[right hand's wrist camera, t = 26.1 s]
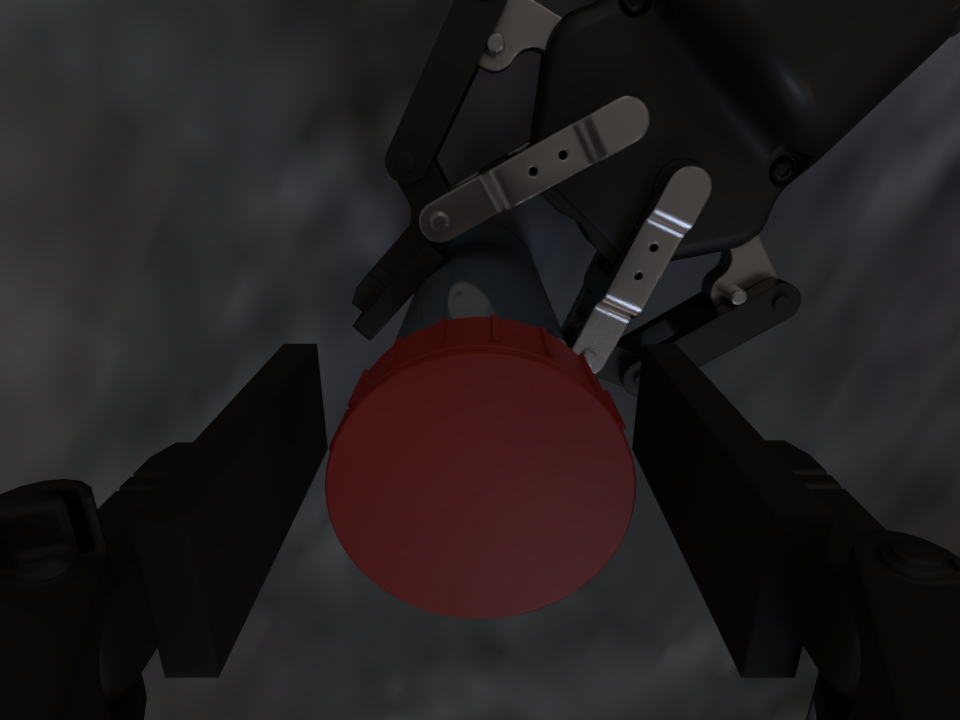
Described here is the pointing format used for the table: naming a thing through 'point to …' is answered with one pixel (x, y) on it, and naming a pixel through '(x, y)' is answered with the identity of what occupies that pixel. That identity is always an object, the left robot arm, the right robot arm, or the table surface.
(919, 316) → the table surface
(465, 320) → the lid
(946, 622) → the right robot arm
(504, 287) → the jar
